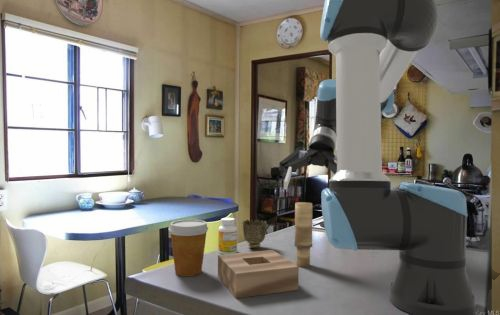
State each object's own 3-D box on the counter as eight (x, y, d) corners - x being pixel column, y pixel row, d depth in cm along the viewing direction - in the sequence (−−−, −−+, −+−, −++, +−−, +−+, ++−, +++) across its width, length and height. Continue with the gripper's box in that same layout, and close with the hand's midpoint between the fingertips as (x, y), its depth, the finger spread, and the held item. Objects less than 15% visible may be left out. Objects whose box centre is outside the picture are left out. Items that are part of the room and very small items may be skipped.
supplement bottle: (219, 249, 113) (219, 216, 113) (237, 249, 113) (237, 217, 112) (217, 254, 108) (217, 220, 107) (236, 254, 107) (236, 220, 107)
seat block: (298, 289, 81) (298, 266, 81) (235, 298, 76) (235, 273, 76) (272, 269, 94) (272, 249, 94) (217, 276, 90) (217, 254, 89)
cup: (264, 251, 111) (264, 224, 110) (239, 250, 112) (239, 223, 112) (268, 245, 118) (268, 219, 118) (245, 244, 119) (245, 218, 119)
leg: (315, 266, 97) (316, 204, 96) (299, 268, 95) (299, 205, 95) (306, 261, 101) (307, 201, 101) (291, 263, 100) (291, 202, 99)
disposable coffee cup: (204, 264, 98) (204, 218, 98) (211, 276, 89) (211, 225, 89) (166, 268, 95) (166, 220, 95) (170, 280, 86) (170, 228, 86)
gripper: (363, 161, 113) (359, 209, 96) (281, 149, 119) (264, 192, 102) (367, 140, 108) (364, 186, 92) (281, 128, 114) (264, 170, 98)
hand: (311, 190), depth 97 cm, fingers open, 13 cm apart
